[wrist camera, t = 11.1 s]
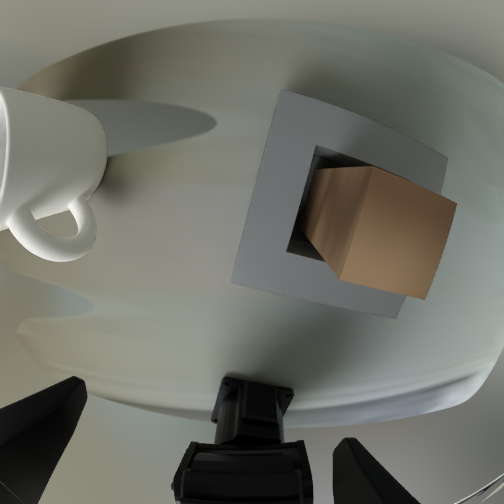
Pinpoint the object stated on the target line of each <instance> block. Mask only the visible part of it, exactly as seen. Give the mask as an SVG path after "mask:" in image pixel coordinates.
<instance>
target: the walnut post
mask: <svg viewBox="0 0 504 504" xmlns="http://www.w3.org/2000/svg"><path fill="white" fill-rule="evenodd" d="M456 206H457V203H455V202H453V201H451V200H449V199H447V198H445V197H443V196H441V195H439V194H437V193H435V192H433V191H431V190H428V189H426V188H424V187H422V186H420V185H417V184H415V183H413V182H411V181H408V180H406V179H404V178H401V177H399V176H397V175H394V174H392V173H389V172H387V171H384V170H382V169H379V168H377V167H374V166H364V167H345V168H330V169H317V170H314V172H313V175H312V179H311V183H310V187H309V191H308V194H307V198H306V202H305V206H304V209H303V213H302V216H301V220H300V224H299V227H300V229H301V230H302V231H303V233H304V234H305V235H306V236H307V238H308V239H309V240H310V242H311V243H312V244H313V246H314V247H315V248H316V249H317V251H318V252H319V253H320V255H321V256H322V257H323V259H324V260H325V261H326V263H327V264H328V265H329V267H330V268H331V269H332V271H333V272H334V274H335V275H336V276H337V278H338V279H339V280H342V281H346V282H350V283H354V284H359V285H363V286H367V287H372V288H376V289H380V290H385V291H389V292H393V293H398V294H402V295H406V296H411V297H415V298H420V299H424V300H425V298H426V296H427V293H428V291H429V289H430V286H431V284H432V281H433V278H434V276H435V273H436V270H437V268H438V265H439V262H440V259H441V256H442V253H443V251H444V247H445V244H446V241H447V238H448V235H449V231H450V228H451V224H452V221H453V217H454V213H455V210H456Z"/></svg>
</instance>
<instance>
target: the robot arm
mask: <svg viewBox="0 0 504 504" xmlns="http://www.w3.org/2000/svg"><path fill="white" fill-rule="evenodd" d="M226 382H229V383H226ZM287 393H290V394H287ZM293 396H294V391H293V389H290V388H284V387H278V386H272V385H266V384H260V383H255V382H250V381H244V380H240V379H235V378H230V377H224V378H223V379H222V381H221V385H220V389H219V392H218V396H217V399H216V403H215V407H214V410H213V414H212V418H211V421H212V422H213V423H215V424H217V428H216V435H215V441H214V444H206V443H198V442H191V443H190V445H189V447H188V449H187V450H186V452H185V454H184V457H183V458H182V461H181V463H180V465H179V467H178V469H177V472H176V474H175V476H174V480H173V482H172V484H171V489H172V490H173V491H174V496H175V501H176V504H313V481H312V474H311V469H310V465H309V461H308V456H307V452H306V448H305V444H304V440H298V441H296V442H287V443H285V442H284V431H283V419H282V417H283V416H284V414H285V412H286V410H287V408H288V406H289V404H290V402H291V400H292V398H293ZM86 401H87V391H86V385H85V381H84V380H83V379H80V378H78V377H76V376H72V377H70V378H68V379H66V380H63V381H61V382H59V383H57V384H55V385H53V386H50V387H48V388H46V389H44V390H42V391H40V392H37V393H35V394H33V395H30V396H28V397H26V398H24V399H22V400H19V401H17V402H15V403H12V404H10V405H8V406H5V407H3V408H1V409H0V504H38V502H39V500H40V498H41V496H42V494H43V492H44V489H45V487H46V485H47V483H48V481H49V479H50V477H51V475H52V473H53V471H54V469H55V467H56V465H57V463H58V461H59V460H60V458H61V456H62V454H63V452H64V450H65V448H66V446H67V445H68V443H69V441H70V439H71V437H72V435H73V433H74V431H75V428H76V426H77V423H78V421H79V418H80V416H81V413H82V411H83V409H84V406H85V404H86ZM333 496H334V504H421V503H419V502H418V501H417V500H416V499H415V498H414V497H412V495H411V494H410V493H409V492H408V491H407V490H406V489H405V488H404V487H403V486H402V485H401V484H400V483H399V482H398V481H397V480H396V479H395V478H394V477H393V476H392V475H391V474H390V473H389V472H388V471H387V470H386V469H385V468H384V467H383V466H382V465H381V464H380V463H379V462H378V461H377V460H376V459H375V458H374V457H373V456H372V455H371V454H370V453H369V452H368V451H367V450H366V448H365V447H363V445H362V444H361V443H360V442H359V441H358V440H357V439H356V438H353V437H352V438H351V437H350V438H344V439H342V441H341V442H340V443H339V444H338V446H337V447H336V448H335V450H334V452H333Z"/></svg>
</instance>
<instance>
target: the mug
mask: <svg viewBox="0 0 504 504" xmlns="http://www.w3.org/2000/svg"><path fill="white" fill-rule="evenodd" d="M107 155H108V147H107V139H106V134H105V131H104V128H103V126H102V124H101V122H100V121H99V119H98V118H97V117H96V116H95V115H94V114H93V113H91V112H90V111H88V110H86V109H84V108H82V107H80V106H77V105H73V104H70V103H66V102H63V101H59V100H56V99H52V98H48V97H44V96H41V95H37V94H33V93H28V92H24V91H20V90H16V89H11V88H6V87H1V86H0V231H1V230H4V229H7V228H9V229H10V231H11V232H12V233H13V235H14V236H15V237H16V239H17V240H18V241H19V242H20V243H21V244H22V245H23V246H24V247H25V248H26V249H28V250H29V251H30V252H32V253H33V254H35V255H37V256H39V257H41V258H44V259H47V260H50V261H56V262H67V261H72V260H75V259H78V258H80V257H82V256H83V255H84V254H86V253H87V252H88V251H89V250H90V249H91V247H92V245H93V243H94V241H95V238H96V232H97V225H96V220H95V216H94V214H93V211H92V209H91V207H90V205H89V203H88V201H87V200H88V199H89V198H90V197H91V195H92V194H93V193H94V191H95V190H96V188H97V187H98V185H99V183H100V181H101V179H102V177H103V174H104V171H105V168H106V163H107ZM67 210H70V211H71V212H72V214H73V215H74V217H75V219H76V222H77V225H78V233H77V235H76V236H74V237H71V238H61V237H57V236H54V235H52V234H50V233H49V232H47V231H46V230H44V229H43V228H42V227H41V226H40V225H39V224H38V223H37V221H36V219H39V218H42V217H46V216H49V215H53V214H56V213H60V212H63V211H67Z"/></svg>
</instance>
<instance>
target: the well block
mask: <svg viewBox="0 0 504 504" xmlns="http://www.w3.org/2000/svg"><path fill="white" fill-rule="evenodd" d="M313 154H315V155H318V156H322V157H325V158H328V159H331V160H334V161H337V162H340V163H343V164H345V165H348V166H351V167H364V166H374V167H377V168H379V169H382V170H384V171H387V172H389V173H392V174H394V175H397V176H399V177H401V178H404V179H406V180H408V181H411V182H413V183H415V184H417V185H420V186H422V187H424V188H426V189H428V190H431V191H433V192H435V193H437V194H439V195H440V193H441V188H442V184H443V180H444V175H445V170H446V166H447V160H448V158H447V157H446V156H444V155H442V154H440V153H439V152H437V151H435V150H433V149H431V148H430V147H428V146H426V145H424V144H422V143H420V142H418V141H416V140H414V139H412V138H410V137H408V136H406V135H404V134H402V133H400V132H398V131H396V130H394V129H391V128H389V127H387V126H385V125H383V124H380V123H378V122H376V121H373V120H371V119H368V118H366V117H364V116H361V115H359V114H356V113H353V112H351V111H348V110H345V109H343V108H340V107H337V106H334V105H332V104H329V103H326V102H323V101H320V100H316V99H313V98H310V97H307V96H303V95H300V94H297V93H293V92H290V91H286V90H282V89H281V92H280V95H279V99H278V102H277V106H276V109H275V113H274V117H273V120H272V124H271V128H270V131H269V135H268V139H267V143H266V146H265V150H264V154H263V158H262V161H261V165H260V169H259V173H258V177H257V180H256V184H255V188H254V192H253V196H252V200H251V203H250V207H249V211H248V215H247V219H246V223H245V227H244V231H243V235H242V239H241V242H240V246H239V250H238V254H237V258H236V262H235V266H234V271H233V275H232V279H231V283H234V284H238V285H242V286H246V287H250V288H254V289H259V290H263V291H267V292H271V293H275V294H280V295H284V296H288V297H293V298H297V299H302V300H306V301H311V302H315V303H320V304H324V305H329V306H334V307H338V308H343V309H348V310H353V311H358V312H363V313H368V314H373V315H378V316H383V317H388V318H393V319H396V317H397V315H398V313H399V311H400V309H401V306H402V304H403V302H404V300H405V297H406V295H402V294H398V293H393V292H389V291H385V290H380V289H376V288H372V287H367V286H363V285H359V284H354V283H350V282H346V281H342V280H339V279H338V278H337V276H336V275H335V274H334V272H333V271H332V269H331V268H330V267H329V265H328V264H327V263H326V261H325V260H324V259H323V257H322V256H321V255H320V253H319V252H318V251H317V249H316V248H315V247H314V246H313V245H312V244H308V243H304V242H300V241H297V240H293V239H290V237H291V233H292V230H293V226H294V223H295V219H296V216H297V212H298V209H299V205H300V202H301V198H302V195H303V191H304V187H305V184H306V180H307V176H308V173H309V169H310V165H311V161H312V158H313Z"/></svg>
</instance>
